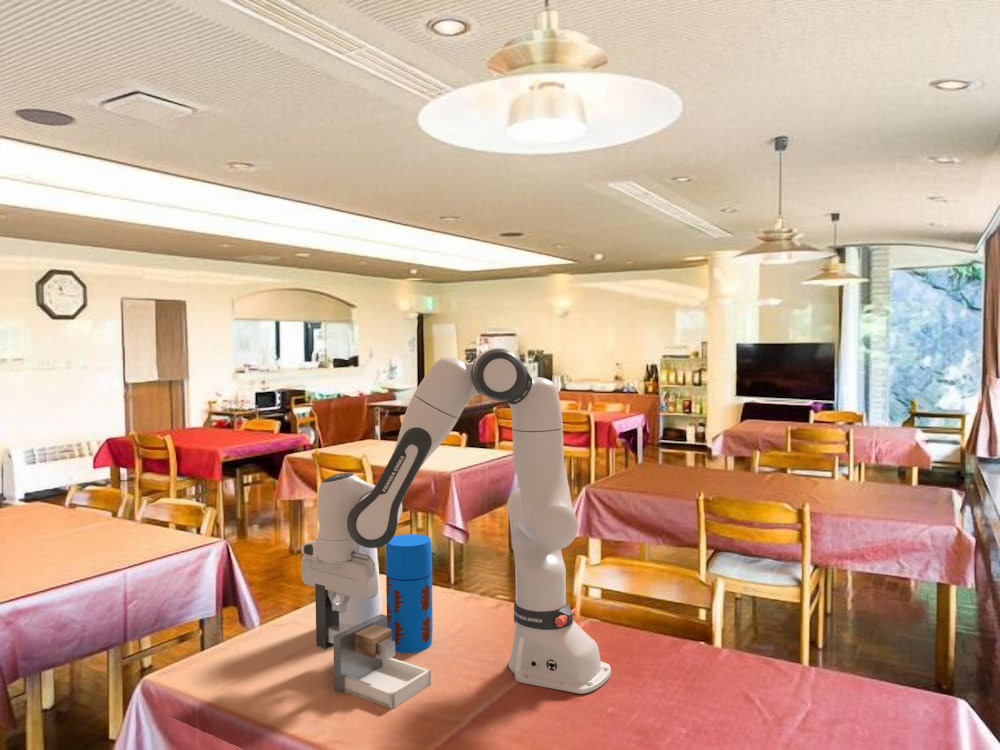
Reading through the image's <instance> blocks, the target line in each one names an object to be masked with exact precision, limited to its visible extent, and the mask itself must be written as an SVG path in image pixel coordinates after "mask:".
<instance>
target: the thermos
mask: <svg viewBox="0 0 1000 750" xmlns="http://www.w3.org/2000/svg"><path fill="white" fill-rule="evenodd" d="M432 549H433V545H432V539H431V537H430V536H428V535H425V534H417V533H412V534H411V533H406V534H398V535H394V536H393V538H392V539H391V540H390V541H389V542H388V543H387V544H386V545H385V568H386V570H385V577H386V578H385V580H386V583H385V585H386V587H385V588H386V616H387V625H388V628H389V629H392V640H393V641H395V653H400V654H413V653H420V652H423V651H425V650H427V649H429V648H431V646H432V644H433V629H434V628H433V624H434V623H433V550H432Z"/></svg>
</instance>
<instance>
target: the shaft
mask: <svg viewBox="0 0 1000 750" xmlns="http://www.w3.org/2000/svg"><path fill="white" fill-rule="evenodd" d="M314 588H315V637H316V638H315V643H316V644H315V646H316V647H317V648H321V649H324V650H327V649H329V648H332V647H334V642H333V636H335V635H337V634H339V633H341V632H343V631H345V630H348V629H350V627H347V626H344V625H340V624H339V612H336V611H333V610H332V603H331V600H330V598H329V596H328V590H325V586H323V585H319V584H316V583H315V587H314ZM338 596H339V593H338ZM395 656H396V652H395V641H393V640H390V639H386V640H384V641H382V642H380V643H378V644H376V657H375V658H379V659H382V660H385V661H386V660H388V659H389V658H393V657H395Z"/></svg>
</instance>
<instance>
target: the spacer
mask: <svg viewBox="0 0 1000 750" xmlns="http://www.w3.org/2000/svg"><path fill="white" fill-rule="evenodd" d="M386 639H390V640H392V629H389V628H385V627H382V626H378V625H375V624H374V625H372V626H370V627H368V628H366V629H364V630H362V631H360V632H357V633H355V653H358V654H361V655H364V656H367V657H371V658H374V657H376V644H378V643H380V642H382V641H384V640H386Z"/></svg>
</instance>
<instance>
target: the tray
mask: <svg viewBox="0 0 1000 750" xmlns="http://www.w3.org/2000/svg"><path fill="white" fill-rule="evenodd" d="M431 685H432V670H430V669H428V668H424V667H421V666H419V665H415V664H413V663H409V662H406V661H402V660H400V659H396V658H393V657H391V658H389V659H388V660H386V661H385V660H382V667H381V668H379V669H377V670H376V671H374V672H372V673H370V674H368V675H367V676H365V677H363V678H361V679H359V680H358V679H355V678H353V677H350V676H346V677H345V692H344V693H348V694H350V695H352V696H353V695H354V696H356V697H359V698H360V699H364V700H366V701H369V702H371V703H375V704H378V705H380V706H382V707H384V708H388V709H390V710H393V709H394V708H395V709H396V707H398V706H400V705H401V704H403V703H404V702H405V701H408V700H409V699H411V698H412V697H414V696H415V695H417V694H418V693H420V692H421V691H423V690H424V689H426V688H428V687H429V686H431Z"/></svg>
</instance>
